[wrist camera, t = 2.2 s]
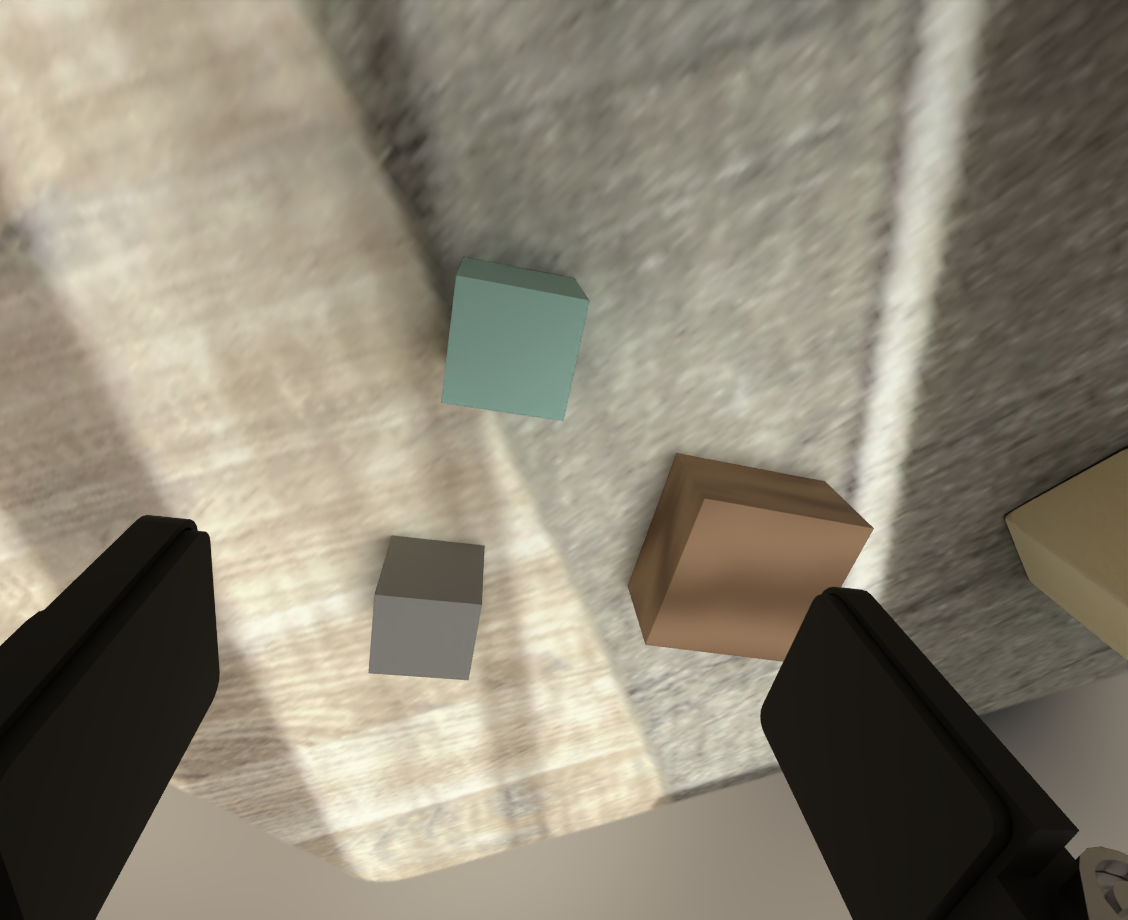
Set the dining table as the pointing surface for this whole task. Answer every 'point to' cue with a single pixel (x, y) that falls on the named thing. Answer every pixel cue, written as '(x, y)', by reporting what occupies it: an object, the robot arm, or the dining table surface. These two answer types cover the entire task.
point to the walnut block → (740, 558)
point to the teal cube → (513, 339)
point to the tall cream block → (1081, 547)
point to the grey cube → (427, 609)
